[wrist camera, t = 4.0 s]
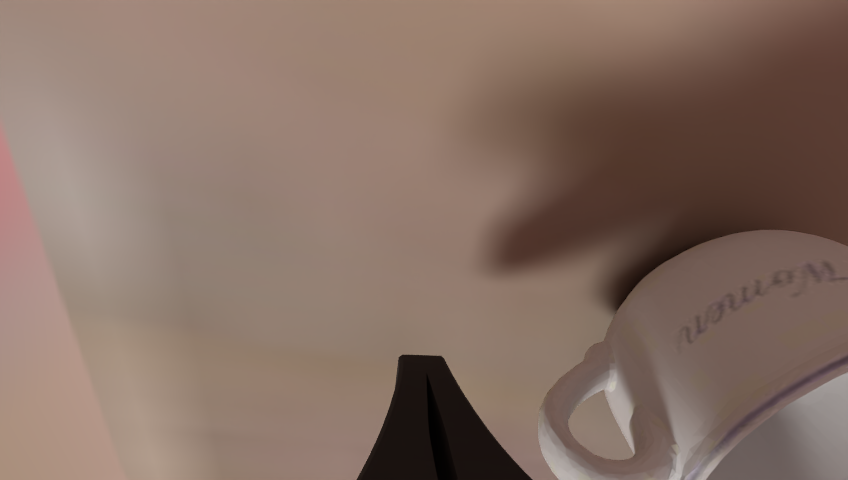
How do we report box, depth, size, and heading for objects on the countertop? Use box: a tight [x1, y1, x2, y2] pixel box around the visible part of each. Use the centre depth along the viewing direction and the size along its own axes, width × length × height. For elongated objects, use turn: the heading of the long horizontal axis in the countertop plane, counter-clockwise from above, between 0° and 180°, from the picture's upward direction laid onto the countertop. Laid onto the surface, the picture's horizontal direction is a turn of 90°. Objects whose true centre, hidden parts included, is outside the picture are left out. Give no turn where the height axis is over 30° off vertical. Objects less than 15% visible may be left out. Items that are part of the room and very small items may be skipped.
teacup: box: [538, 230, 848, 480], centre depth 15 cm, size 14×11×8 cm
